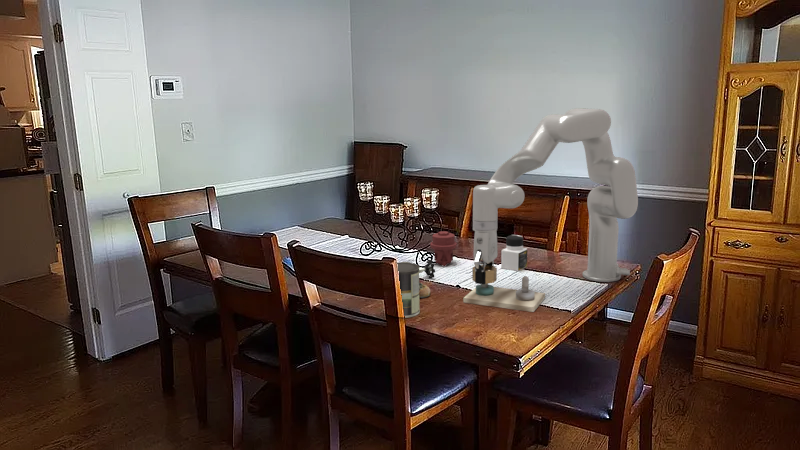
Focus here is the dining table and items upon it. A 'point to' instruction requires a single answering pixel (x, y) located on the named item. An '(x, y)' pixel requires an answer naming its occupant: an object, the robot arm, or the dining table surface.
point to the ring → (487, 273)
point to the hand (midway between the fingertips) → (484, 279)
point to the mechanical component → (443, 247)
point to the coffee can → (409, 288)
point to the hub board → (506, 297)
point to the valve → (428, 269)
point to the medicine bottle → (514, 254)
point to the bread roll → (423, 291)
